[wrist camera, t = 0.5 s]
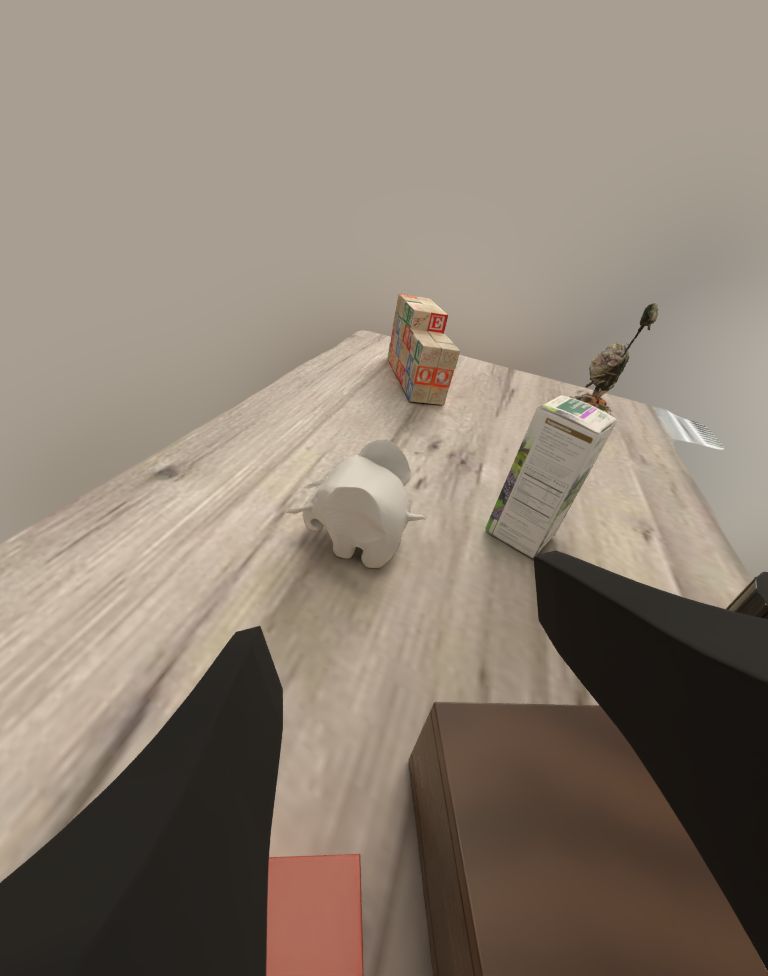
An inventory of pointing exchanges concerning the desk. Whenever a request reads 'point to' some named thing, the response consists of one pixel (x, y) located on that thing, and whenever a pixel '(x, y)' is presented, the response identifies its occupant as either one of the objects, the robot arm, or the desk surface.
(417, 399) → the stack of blocks
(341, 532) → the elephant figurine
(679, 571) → the desk surface
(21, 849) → the desk surface
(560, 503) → the syrup box
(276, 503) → the desk surface
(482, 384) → the desk surface
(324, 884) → the block
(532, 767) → the brown open wooden box
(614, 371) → the brown bird figurine
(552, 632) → the robot arm
